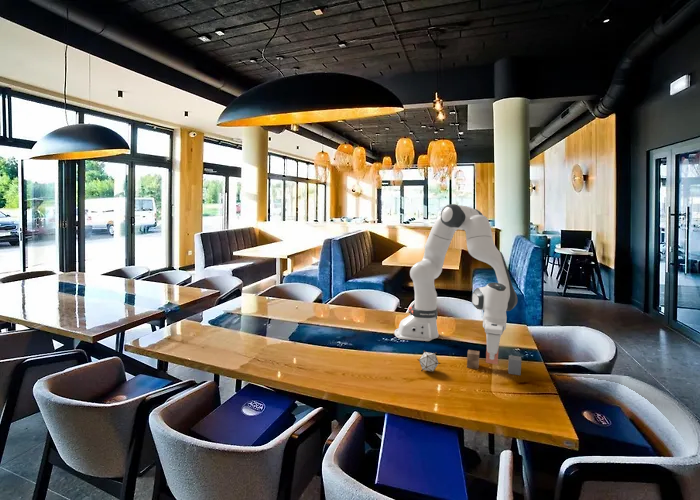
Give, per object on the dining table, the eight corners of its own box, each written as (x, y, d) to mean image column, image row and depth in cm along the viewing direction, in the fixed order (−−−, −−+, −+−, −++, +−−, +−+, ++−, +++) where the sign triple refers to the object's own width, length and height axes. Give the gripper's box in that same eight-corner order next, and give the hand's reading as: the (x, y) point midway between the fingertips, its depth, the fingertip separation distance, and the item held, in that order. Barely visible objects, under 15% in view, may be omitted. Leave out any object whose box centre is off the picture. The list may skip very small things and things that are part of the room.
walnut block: (466, 367, 163) (467, 353, 162) (467, 363, 167) (468, 349, 166) (478, 369, 161) (478, 355, 160) (478, 364, 165) (479, 351, 165)
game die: (423, 378, 160) (413, 355, 164) (442, 371, 160) (432, 347, 164) (424, 376, 152) (414, 351, 156) (445, 368, 152) (434, 344, 156)
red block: (485, 362, 160) (486, 348, 159) (486, 358, 164) (487, 344, 163) (497, 364, 158) (498, 350, 157) (497, 360, 162) (498, 346, 161)
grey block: (508, 373, 157) (509, 359, 156) (508, 369, 161) (508, 355, 161) (520, 375, 155) (521, 360, 155) (520, 370, 160) (520, 356, 159)
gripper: (487, 315, 170) (485, 346, 171) (484, 329, 151) (482, 364, 152) (502, 317, 167) (500, 348, 169) (502, 332, 148) (500, 367, 150)
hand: (492, 356), depth 161 cm, fingers closed on red block, 4 cm apart
